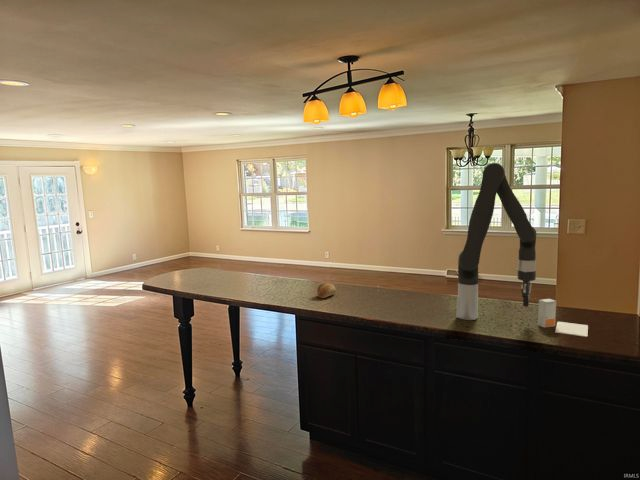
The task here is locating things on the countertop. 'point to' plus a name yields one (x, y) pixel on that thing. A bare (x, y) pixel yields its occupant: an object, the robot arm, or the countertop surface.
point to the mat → (572, 329)
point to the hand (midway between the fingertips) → (525, 306)
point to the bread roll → (326, 290)
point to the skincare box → (546, 313)
